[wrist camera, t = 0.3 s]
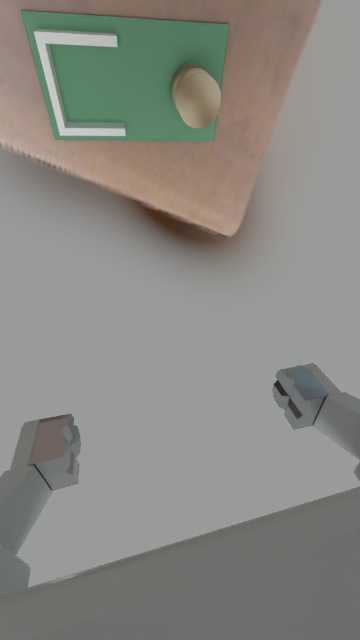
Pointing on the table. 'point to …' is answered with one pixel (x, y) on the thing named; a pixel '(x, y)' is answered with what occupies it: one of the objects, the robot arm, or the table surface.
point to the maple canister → (195, 95)
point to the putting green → (120, 73)
